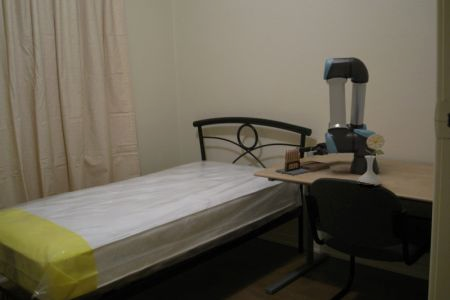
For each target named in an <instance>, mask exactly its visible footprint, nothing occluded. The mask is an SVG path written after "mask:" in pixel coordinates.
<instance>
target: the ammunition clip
mask: <svg viewBox="0 0 450 300" xmlns="http://www.w3.org/2000/svg"><path fill="white" fill-rule="evenodd" d="M292 149H293V152H292V150H291V149H286V150H285V158H284V161H285V162H284V168H285V172H289V171H294V170H298V169H300V163H301V160H300V152H299V149H297V151H296V148H292ZM294 149H295V152H294ZM290 150H291V151H290Z"/></svg>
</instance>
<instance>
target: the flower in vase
mask: <svg viewBox="0 0 450 300" xmlns="http://www.w3.org/2000/svg"><path fill="white" fill-rule="evenodd" d="M385 142H386V140H385V138H384V136H383V135H381V134H380V133H376V134H372V135H371V136H369V138H368V139H367V142H366V143H367V145H368V147H369V148H371V149H372V148H373V149H374V150H375V151H374V153H375V152H376V156H372V155H373V154H374V153H373V154H372V153H371V152H370V153H371V154H372V155H371V156H365V158H366V160H367V166H368V168H367V172H366V173H365V174H361V175H360V176H359V177H358V179H357V182H358V181H360V182H365V183H370V184H375V185H374V186H379V185H381V184H382V183H383V180H382V178H381V177H380V176H378V174H375V173H374V172H373V170H372V165H373V160H374V158H375V157H376V158H377V156H378V155H379V156H380V155H385V152H384V151H383V150H381V149H382V148H383V146H384V145H385ZM366 151H367V150H366ZM367 152H369V151H367Z"/></svg>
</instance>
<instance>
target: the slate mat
mask: <svg viewBox="0 0 450 300" xmlns="http://www.w3.org/2000/svg"><path fill="white" fill-rule="evenodd" d="M275 172H276V173H280V174H285V175H290V176H298V175H303V174H307V173H311V172H310V170H306V169H301V168H300V169H298V170H294V171H289V172H285V167H284V168H279V169H275Z"/></svg>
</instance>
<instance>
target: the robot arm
mask: <svg viewBox="0 0 450 300" xmlns="http://www.w3.org/2000/svg"><path fill="white" fill-rule="evenodd" d="M323 70H324V71H323V80H325V82H326V84H327V85H328V90H329V91H328V96H329V122H328V128H327V131H326V132H325V133H324V139H325V141H324V142H319V143H316V146H304V147H303V146H301V147H300V146H299V147H295V148H291V149H289V151H291V150H292V152H293V149H294V152H295V149H296V151H297V149H299V153H307V157H308V158H311V157H312V158H313V157H315V156H321V157H324V156H325V155H326V156H328V155H332V154H336V155H337V154H353V158H352V161H351V165H350V167H349V172H350V173H352V174H355V175H364V174H365V173H366V172H367V168H368V166H367V160H366V158H365V156H371V155H372V154H373V153H374V151H375V150H374V149H373V148H372V149H371V148H369V147H368V145H367V143H366V142H367V139H368V138H369V136H371V135H372V134H377V133H376V131H373V130H370V129H369V130H368V126H367V124H366V123H364V121H365V120H364V118H365V107H366V95H367V83H369V79H370V78H369V77H370V75H369V74H370V73H369V70H368V68H367V65H366V64H365V63H364V62H363V61H362V60H361V59H360V58H358V57H354V56H352V57H333V58H327V59H326V60H325V62H324V69H323ZM349 79H350V82H351V83H352V88H351V103H350V105H351V106H350V120H349V122H350V123H347V111H346V110H347V109H346V108H347V107H346V83H348V80H349ZM366 150H367V151H369V152H367V151H366ZM370 152H371V153H372V154H371V153H370ZM372 156H376V157H375V158H374V160H373V165H372V170H373V172H374V173H375V174H376V175H378V174H379V173H380V167H379V163H378V160H377V154H376V152H375V153H374V154H373V155H372Z"/></svg>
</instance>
